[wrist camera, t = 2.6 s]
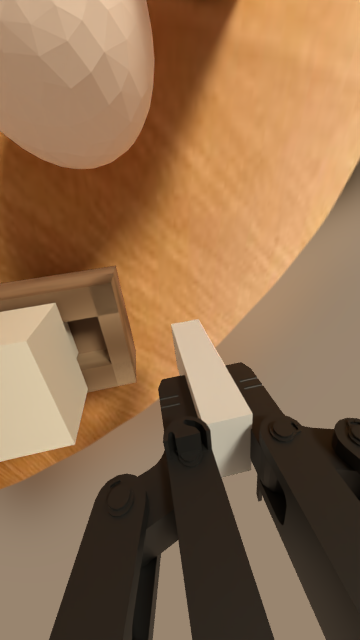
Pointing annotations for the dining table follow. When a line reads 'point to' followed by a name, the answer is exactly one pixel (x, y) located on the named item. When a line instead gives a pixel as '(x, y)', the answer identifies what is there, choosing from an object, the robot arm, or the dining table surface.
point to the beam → (85, 320)
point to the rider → (38, 382)
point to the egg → (75, 77)
